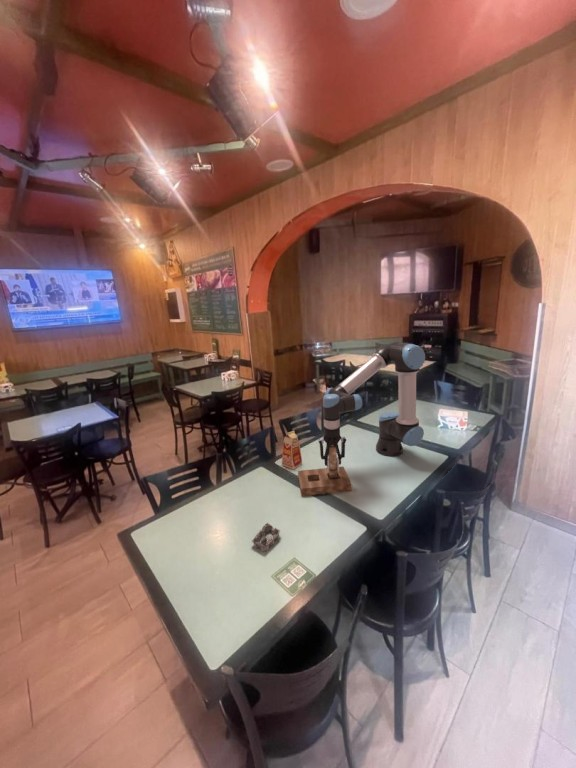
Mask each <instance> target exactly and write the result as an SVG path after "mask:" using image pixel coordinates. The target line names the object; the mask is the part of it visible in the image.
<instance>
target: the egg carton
mask: <svg viewBox="0 0 576 768" xmlns="http://www.w3.org/2000/svg"><path fill="white" fill-rule="evenodd" d="M269 532H271V535H268V536H266V533H269ZM280 533H281V530H280V529H278V528H276V527H273V525H271V524H270V523H268V522H266V523H265V524H264V525H263V526H262V529H260V530H259V532H258V533H256V534H255V536H254V538H253V539H252V540H251V542H252V544H253V547H254V549H258V548H260V552H268V551H269V550H270V547H269V546H274V545H275V540H280Z"/></svg>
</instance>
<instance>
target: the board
mask: <svg viewBox="0 0 576 768" xmlns="http://www.w3.org/2000/svg"><path fill="white" fill-rule="evenodd" d="M297 477H298V478H299V479H298V483H299V490H300V496H301V497H306V496H307V497H308V496H315V495H316V494H318V495H325V493H328V494H336V493H337V494H338V493H347V492H348V493H349V492H352V490H353V489H352V488H353V487H352V482H351V479H350V477H349V475H348V473H347V470H346V468H345V466H339V472H338V471H337V477H336V478H331V477H329V472H328V471H327V467H325V468H314V469H313V468H312V469H305V470H304V469H303V470H297ZM316 496H317V495H316Z"/></svg>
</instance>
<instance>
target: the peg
mask: <svg viewBox="0 0 576 768" xmlns="http://www.w3.org/2000/svg"><path fill="white" fill-rule="evenodd" d="M337 457H338V455H337V450H336V446H335V445H331V446H330V448H329V455H328V459H329V477H331V478H336V477H337Z"/></svg>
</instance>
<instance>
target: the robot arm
mask: <svg viewBox="0 0 576 768" xmlns="http://www.w3.org/2000/svg"><path fill="white" fill-rule="evenodd" d="M425 362H426V354H425V351H424V348H422V347H421V346H420V345H416V344H414V343H405V342H398V341H397V342H396V341H394V342H390V343H387V344H385V345H384V346H382V347H380V348H379V349H378V350H376V351H375V352H374V353H372V355H371V357H370V358H369V359H368V360H367V361H365V362H364V363H363V364H362V365H361V366H360V367H358V368H357V369H356V370H355V371H354V372H351V374H350V375H349V376H347V378H345V379H344V380H343V381H341V382H340V383H339V384H338V385H337V386H335V387H328V388H327V389H326V390H325V392H324V396H323V398H322V409H323V413H322V414H323V437H322V438H319V439H318V440H317V441H318V443H319V455H320V458H321V459H320V460H324V466H325V467H326V468H327V471H328V472H329V459H328V455H329V448H330V446H331V445H335V446H336V450H337V471H338V472H339V467H340V465H341V464H342V458H343V459H345V457H346V442H347V439H346V437H345V436H342V435H341V427H340V425H341V422H340V421H341V418H340V417H341V416H340V414H344V413H349V412H355V411H357V410H361V409H362V408H363V407H362V406H363V399H362V397H361V396H360V395H359V394H358V393H356V394H355V393H354V394H352V393H353V392H355V391H356V390H357V389H358V388H359V387H360V386H362V385H363V384H364V383H365V382H367V380H369V379H370V378H371V377H373V376H374V375H375V374H376V373H377V372H378V371H380V370H381V369H385V368H386V367H388V366H390V365H394V366H395V367H394V369H395V370H394V371H395V372H396V373H397V374H398V375H397V376H398V378H397V381H398V383H397V384H398V390H397V391H398V392H397V393H398V397H397V398H398V412H396V411H387V412H383V413H380V415H379V417H378V439H377V442H376V443H375V444H376V445H375V451H376V452H377V453H378V454H380V455H383V456H386V457H397V456H401V455H402V454H403V451H404V447H403V445H407V446H408V447H415V446H416V445H418V444H419V443H420V442H421V441H422V440H423V438H424V435H425V431H424V429H423V427H422V426H420V420H419V418H418V417H417V373H419V371H420V369H421V368H422V367H423V366H424V363H425ZM340 441H341V443H340V444H341V445H340V446H341V447H340V449H339V442H340ZM324 442H325V443H326V445H325V446H326V447H325V451H324V445H323V444H324ZM340 450H341V452H340Z"/></svg>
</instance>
